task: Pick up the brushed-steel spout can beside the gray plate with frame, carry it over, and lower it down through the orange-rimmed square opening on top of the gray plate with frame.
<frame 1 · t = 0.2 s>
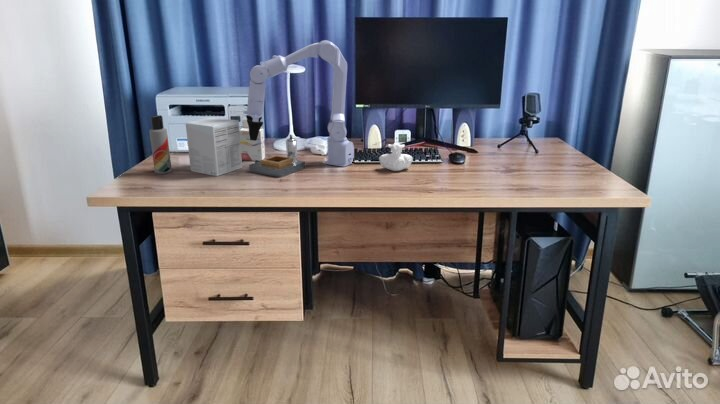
hand: (252, 137, 194), 10 cm above the table, tool pointing down, fingers open, 7 cm apart
supplement box: (216, 170, 193), on the table
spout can: (292, 161, 203), on the table
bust: (395, 170, 192), on the table
gray plate with frame: (277, 169, 192), on the table
lotion bottle: (163, 172, 190), on the table
ink cartridge box: (253, 159, 207), on the table
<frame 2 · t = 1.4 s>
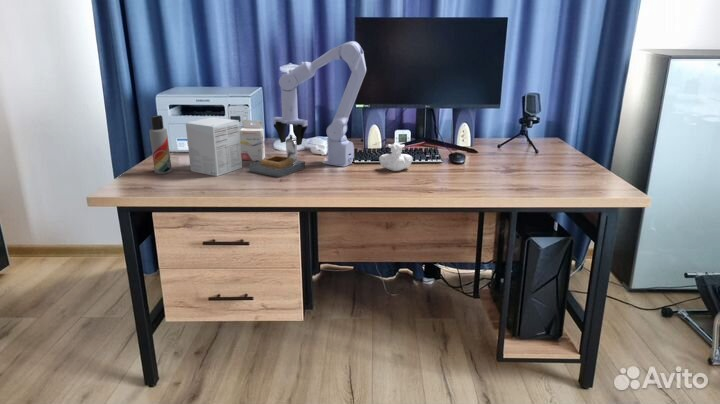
hand: (291, 143, 201), 7 cm above the table, tool pointing down, fingers open, 7 cm apart
nothing on the table moved.
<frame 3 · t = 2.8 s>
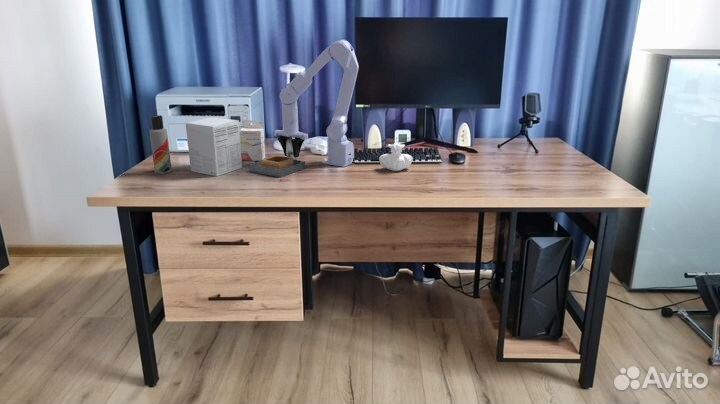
hand: (291, 156, 203), 2 cm above the table, tool pointing down, fingers closed on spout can, 4 cm apart
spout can: (292, 161, 203), on the table, touching gripper
everything else where it was.
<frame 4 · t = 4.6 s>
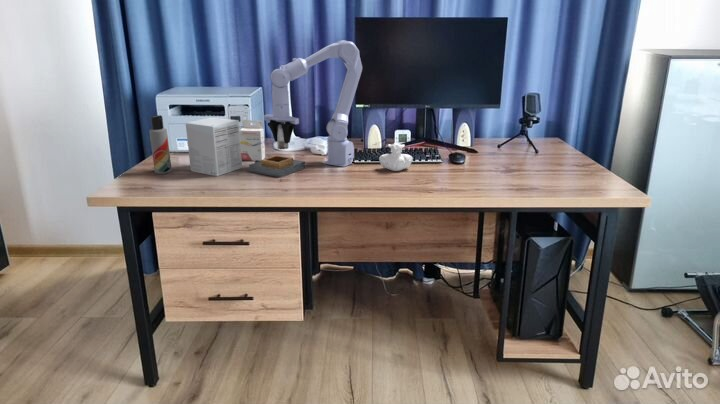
hand: (282, 142, 194), 9 cm above the table, tool pointing down, fingers closed on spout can, 4 cm apart
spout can: (282, 148, 195), point 7 cm above the table, touching gripper
everything else where it was.
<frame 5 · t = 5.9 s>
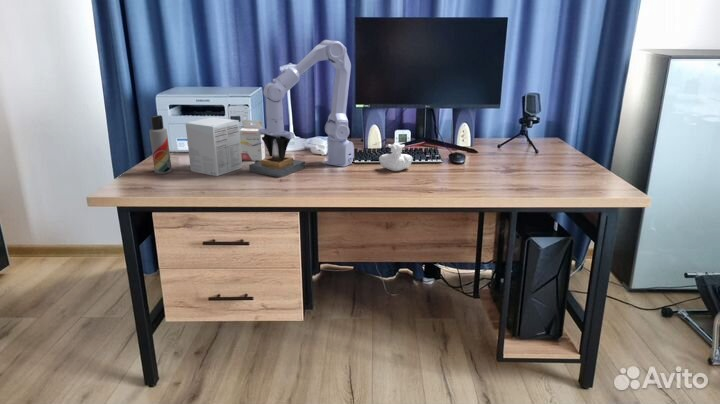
hand: (277, 156, 190), 5 cm above the table, tool pointing down, fingers closed on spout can, 4 cm apart
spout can: (277, 162, 191), point 3 cm above the table, touching gripper
everything else where it was.
when the fingers open (5 cm above the table, at t = 6.5 s): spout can drops 3 cm, resting in gray plate with frame.
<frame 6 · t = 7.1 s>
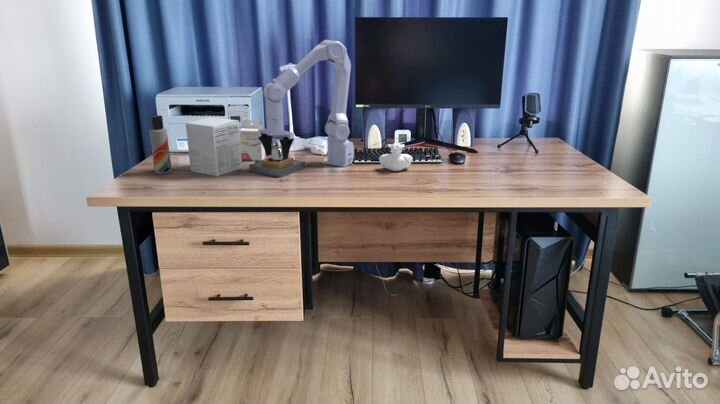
hand: (277, 156, 190), 5 cm above the table, tool pointing down, fingers open, 7 cm apart
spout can: (278, 169, 192), resting in gray plate with frame
everything else where it was.
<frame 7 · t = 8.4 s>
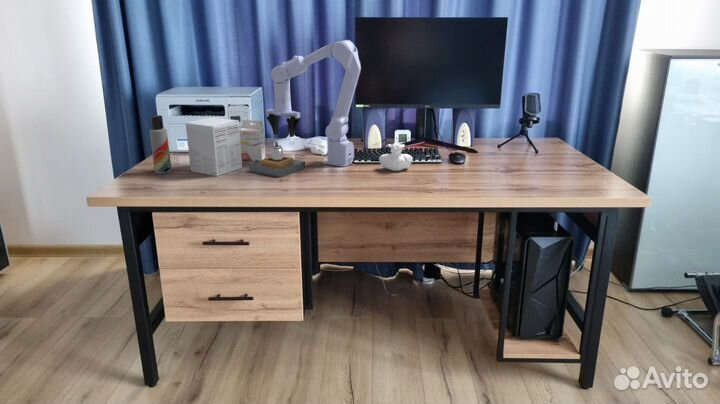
hand: (284, 135, 203), 9 cm above the table, tool pointing down, fingers open, 7 cm apart
nothing on the table moved.
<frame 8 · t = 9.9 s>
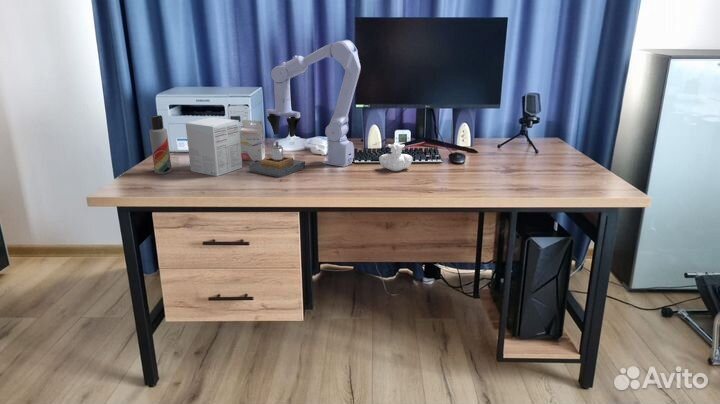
hand: (284, 135, 203), 9 cm above the table, tool pointing down, fingers open, 7 cm apart
nothing on the table moved.
at the end: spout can 0.2 cm off-centre on the gray plate with frame, point 0.0 cm above the gray plate with frame's base; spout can tilted 1°; the gripper is holding nothing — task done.
